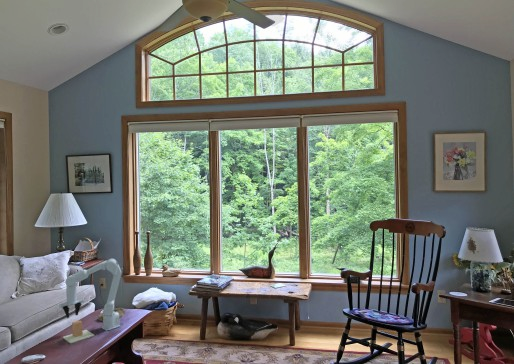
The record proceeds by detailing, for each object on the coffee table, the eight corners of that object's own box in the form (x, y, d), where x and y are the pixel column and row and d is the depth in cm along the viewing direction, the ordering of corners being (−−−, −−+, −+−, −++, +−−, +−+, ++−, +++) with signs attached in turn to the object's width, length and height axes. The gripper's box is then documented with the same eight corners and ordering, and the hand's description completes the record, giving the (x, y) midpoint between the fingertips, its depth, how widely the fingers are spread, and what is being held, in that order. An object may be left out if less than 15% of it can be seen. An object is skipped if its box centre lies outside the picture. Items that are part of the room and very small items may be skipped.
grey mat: (86, 330, 236) (86, 329, 236) (94, 335, 228) (94, 334, 228) (62, 337, 226) (62, 336, 226) (70, 343, 218) (70, 342, 218)
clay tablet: (114, 311, 271) (95, 321, 252) (114, 304, 271) (95, 313, 252) (130, 313, 267) (112, 323, 248) (130, 306, 267) (112, 316, 248)
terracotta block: (79, 333, 231) (79, 320, 231) (82, 334, 228) (82, 322, 228) (72, 335, 228) (72, 322, 228) (75, 337, 225) (74, 324, 225)
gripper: (61, 299, 225) (62, 321, 225) (85, 293, 236) (86, 314, 236) (57, 296, 230) (58, 318, 230) (81, 291, 241) (81, 311, 241)
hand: (72, 316), depth 233 cm, fingers open, 5 cm apart
